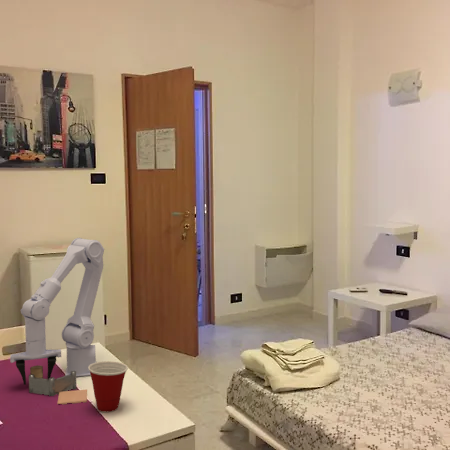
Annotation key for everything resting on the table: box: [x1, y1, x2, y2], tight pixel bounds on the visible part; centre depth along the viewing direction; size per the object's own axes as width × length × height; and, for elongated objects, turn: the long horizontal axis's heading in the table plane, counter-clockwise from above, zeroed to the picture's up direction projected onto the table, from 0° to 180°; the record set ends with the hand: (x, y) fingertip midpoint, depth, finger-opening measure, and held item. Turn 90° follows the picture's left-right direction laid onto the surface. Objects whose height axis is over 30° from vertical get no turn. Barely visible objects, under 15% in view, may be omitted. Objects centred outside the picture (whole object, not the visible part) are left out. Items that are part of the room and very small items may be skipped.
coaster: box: [57, 389, 88, 405], centre depth 153 cm, size 8×8×1 cm
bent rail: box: [28, 371, 77, 397], centre depth 156 cm, size 14×6×5 cm, turn 104°
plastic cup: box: [88, 360, 129, 413], centre depth 146 cm, size 11×11×12 cm
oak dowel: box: [29, 364, 44, 379], centre depth 160 cm, size 4×4×6 cm
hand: (36, 382), depth 161 cm, fingers open, 6 cm apart
